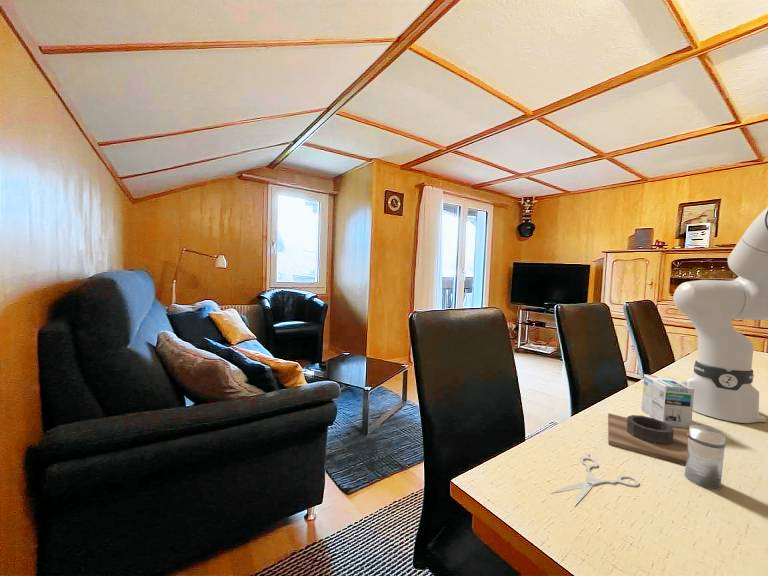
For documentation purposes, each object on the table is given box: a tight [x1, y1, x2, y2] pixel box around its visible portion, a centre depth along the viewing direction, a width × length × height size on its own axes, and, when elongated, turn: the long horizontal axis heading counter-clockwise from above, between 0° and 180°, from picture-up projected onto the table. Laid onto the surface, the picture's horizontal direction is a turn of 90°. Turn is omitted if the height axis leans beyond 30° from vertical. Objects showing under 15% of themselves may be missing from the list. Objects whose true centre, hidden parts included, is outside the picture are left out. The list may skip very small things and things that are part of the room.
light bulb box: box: [640, 374, 694, 429], centre depth 91 cm, size 11×7×11 cm, turn 168°
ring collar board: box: [607, 412, 688, 466], centre depth 79 cm, size 18×16×4 cm
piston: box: [684, 424, 727, 490], centre depth 63 cm, size 5×5×10 cm
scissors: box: [551, 452, 640, 506], centre depth 62 cm, size 11×1×20 cm
